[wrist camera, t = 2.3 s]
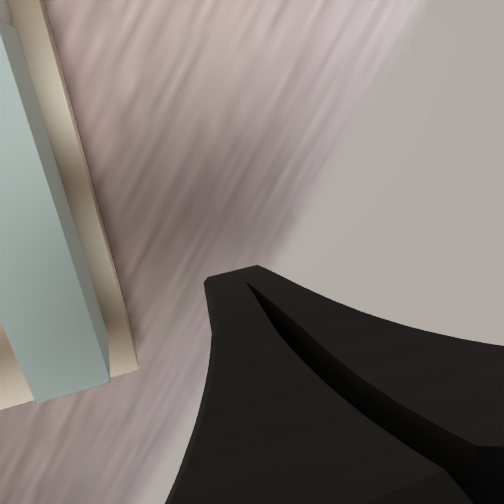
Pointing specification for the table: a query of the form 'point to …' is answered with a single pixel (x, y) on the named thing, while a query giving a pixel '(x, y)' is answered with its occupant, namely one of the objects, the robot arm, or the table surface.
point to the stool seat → (78, 195)
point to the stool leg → (41, 248)
